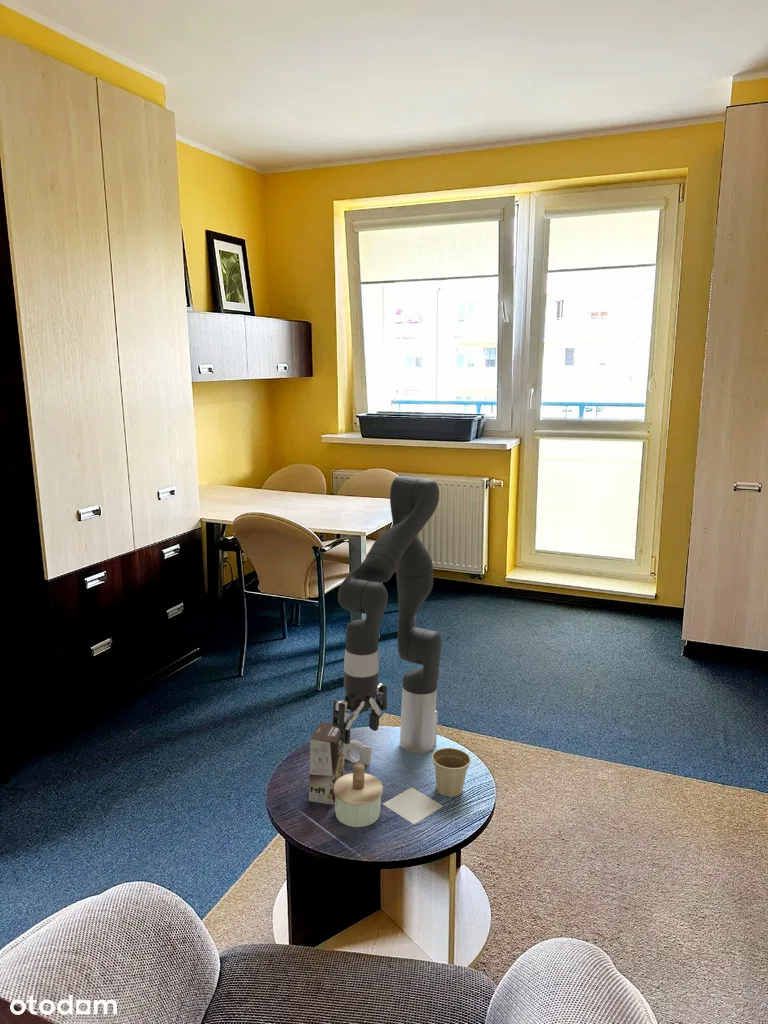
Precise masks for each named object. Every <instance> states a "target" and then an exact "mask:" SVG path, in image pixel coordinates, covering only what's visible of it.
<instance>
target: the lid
mask: <svg viewBox="0 0 768 1024" xmlns="http://www.w3.org/2000/svg"><path fill="white" fill-rule="evenodd" d="M365 767H366V765H365V764H361V763H353V765H352V772H351V773H347V774H344V776H341V777H340V778H338V779H337V780H336V782H335V784H334V794H335V796H336V797H337V798H338V799H339V800H340V801H342V802H344V803H347V804H350V805H367V804H370V803H373V802H375V801H377V800H378V799H379V798H380V797H381V798H382V795H383V789H384V787H383V784H382V781H381V780H380V779H379V778H378V777H377V776H375V775H372V774H369V773H365V771H366V769H365Z"/></svg>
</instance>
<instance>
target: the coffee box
mask: <svg viewBox="0 0 768 1024" xmlns="http://www.w3.org/2000/svg"><path fill="white" fill-rule="evenodd" d="M309 739H310V743H309V744H310V745H309V746H310V747H309V778H308V779H309V783H308V786H309V787H308V788H309V789H308V801H309V802H314V803H321V804H326V805H334V806H335V794H334V784H335V782H336V780H337V779H338V778H340V777H341V776H344V775H345V759H344V748H345V743H343V742H342V741H341V740H340V729H338V728H336V727H335V726H333V725H332V722H327V721H320V722H319V724H318V725H317V727H316V728H315V731H314V732H313V734H312V735H311V737H310V738H309Z"/></svg>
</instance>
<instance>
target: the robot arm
mask: <svg viewBox="0 0 768 1024" xmlns="http://www.w3.org/2000/svg"><path fill="white" fill-rule="evenodd" d="M390 485H391V486H390V491H389V502H390V503H389V505H390V512H391V519H392V520H391V521H392V527H390V528H389V529H387V530H386V531H384V532H383V533H381V535H380V536H379V537H377V538H376V540H375V541H374V543H373V544H372V545H371V546H370V549H369V551H368V553H367V555H366V557H365V558H364V560H363V561H362V562H361V563H359V565H357V566H356V567H355V568H354V569H353V570H352V571H351V572H350V573H349V574H348V575H347V576H346V577H345V578H344V579H343V581H342V582H341V584H340V586H339V588H338V592H337V600H338V604H339V605H340V607H341V608H342V609H344V610H346V611H351V612H355V613H360V614H364V615H365V618H364V619H355V620H352V621H350V622H349V623H348V624H347V625H346V628H345V651H344V653H345V654H344V657H343V658H344V659H343V664H344V665H343V688H344V692H345V696H344V699H341V700H338V699H334V701H333V706H332V708H333V709H332V720H331V721H332V722H331V723H332V725H333V726H335V727H336V728H338V729H340V740H341V741H342V742H343V743H345V744H346V745H347V744H349V743H350V740H351V726H352V724H353V722H354V721H356V720H357V718H358V716H359V715H361V714H362V713H364V712H368V711H370V712H369V715H368V716H369V719H368V722H369V724H368V727H369V729H370V730H372V731H374V732H377V731H378V730H379V727H380V715H381V714H382V712H383V711H386V710H387V708H388V699H387V698H388V693H387V689H388V688H387V685H385V684H383V683H380V682H379V666H380V656H379V632H380V628H381V624H382V620H383V618H384V617H383V616H384V613H385V610H386V607H387V605H388V600H389V594H388V590H387V588H386V586H385V585H384V584H383V583H386V582H388V581H390V580H391V578H392V577H393V575H394V573H395V571H396V573H395V575H396V585H397V601H398V619H397V620H398V621H397V622H398V623H397V651H398V653H397V654H398V655H399V658H400V659H401V661H405V662H409V663H413V664H417V665H422V668H419V669H414V670H410V671H408V672H406V673H405V674H404V675H403V677H402V685H401V686H402V688H401V689H402V690H401V691H402V692H401V709H400V710H401V713H400V733H399V735H400V736H399V737H400V739H399V747H400V749H402V750H403V751H405V752H407V753H409V754H415V755H422V754H423V755H424V754H427V753H430V752H432V751H433V750H434V749H435V748H434V747H435V746H436V745H437V736H438V735H437V734H438V733H437V732H438V720H439V719H438V718H439V712H438V711H437V694H438V692H437V691H438V690H437V689H438V682H439V681H438V680H439V674H440V664H441V663H440V662H441V654H442V636H441V633H439V631H436V630H431V629H426V628H423V627H422V628H421V627H417V626H416V624H415V617H416V614H417V612H418V610H419V608H420V607H421V606H422V605H423V603H425V601H426V599H427V598H428V597H429V595H430V594H431V591H432V590H433V586H434V565H433V560H432V558H431V555H430V553H429V552H428V550H427V548H426V546H425V545H424V543H423V542H422V541H421V539H420V538H419V535H418V534H419V533H420V532H422V530H423V528H424V526H426V524H427V523H428V521H430V519H431V518H432V516H433V515H434V513H435V512H436V510H437V508H438V504H439V501H440V487H439V485H438V483H437V481H435V480H434V479H431V478H425V477H415V476H414V477H413V476H406V475H399V476H396V477H395V478H394V479H393V481H392V482H391V484H390ZM349 711H350V712H352V714H350V713H349Z"/></svg>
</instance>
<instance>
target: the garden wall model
mask: <svg viewBox="0 0 768 1024" xmlns="http://www.w3.org/2000/svg"><path fill="white" fill-rule="evenodd" d="M372 750H373V746H367V745H365V744H364V743H363V742H360V741H359V740H357V739H352V740H351V739H350V743H349V744H347V745H346V744H345V748H344V760H346V761H349V762H351V763H353V764H356V763H361V764H363V765H364V766H370V765H371V761H372V760H371V759H372V757H371V756H372V755H371V754H372Z"/></svg>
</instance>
